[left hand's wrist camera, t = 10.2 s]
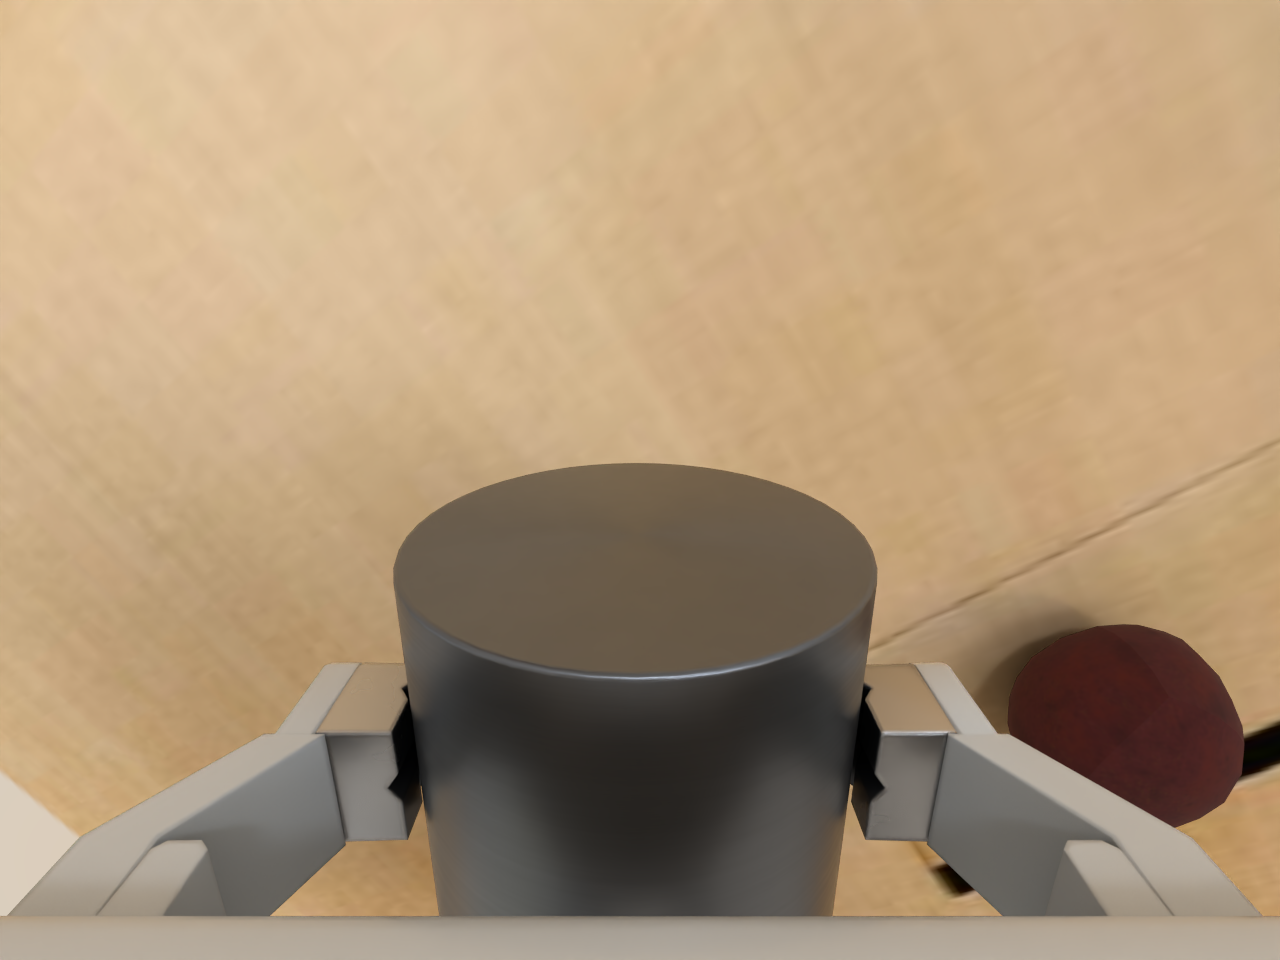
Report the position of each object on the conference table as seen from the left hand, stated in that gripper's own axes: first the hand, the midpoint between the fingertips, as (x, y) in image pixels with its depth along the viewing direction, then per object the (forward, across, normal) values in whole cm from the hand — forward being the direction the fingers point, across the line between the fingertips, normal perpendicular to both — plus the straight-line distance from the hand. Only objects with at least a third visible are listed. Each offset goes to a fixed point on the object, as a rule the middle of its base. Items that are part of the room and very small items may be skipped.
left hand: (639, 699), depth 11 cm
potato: (+16, +18, -11) cm, 27 cm away
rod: (+3, 0, -9) cm, 9 cm away
